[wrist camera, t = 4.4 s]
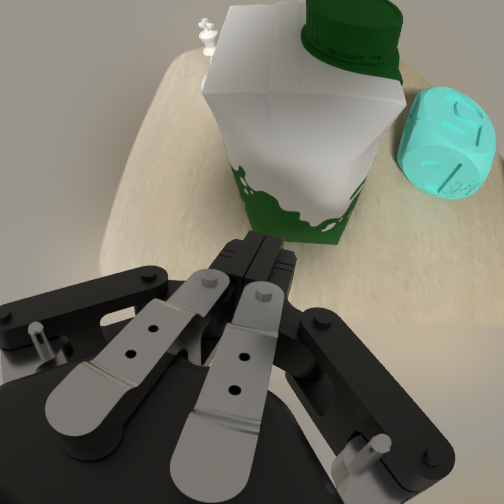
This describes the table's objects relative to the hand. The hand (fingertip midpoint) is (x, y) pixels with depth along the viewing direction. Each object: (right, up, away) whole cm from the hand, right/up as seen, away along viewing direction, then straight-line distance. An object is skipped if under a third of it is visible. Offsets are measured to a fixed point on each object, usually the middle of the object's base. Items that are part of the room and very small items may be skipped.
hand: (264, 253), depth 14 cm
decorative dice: (+18, +9, +15) cm, 25 cm away
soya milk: (+4, +4, +15) cm, 16 cm away
